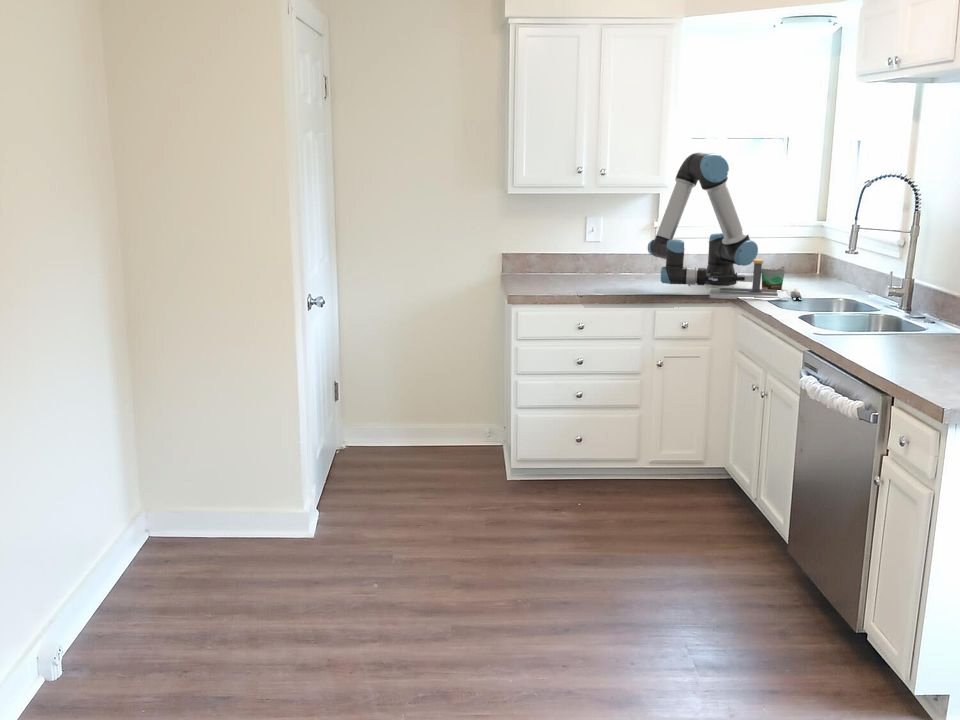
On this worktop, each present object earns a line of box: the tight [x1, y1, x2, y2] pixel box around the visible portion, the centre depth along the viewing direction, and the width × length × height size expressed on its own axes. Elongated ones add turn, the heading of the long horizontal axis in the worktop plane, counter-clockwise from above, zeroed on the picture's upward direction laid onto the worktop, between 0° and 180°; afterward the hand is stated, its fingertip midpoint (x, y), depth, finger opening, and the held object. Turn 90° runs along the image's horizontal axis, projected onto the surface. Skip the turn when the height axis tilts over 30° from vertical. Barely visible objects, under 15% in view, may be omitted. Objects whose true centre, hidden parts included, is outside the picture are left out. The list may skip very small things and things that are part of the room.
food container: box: [761, 266, 787, 291], centre depth 392 cm, size 12×6×10 cm, turn 112°
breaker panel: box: [709, 287, 789, 300], centre depth 382 cm, size 14×32×2 cm, turn 75°
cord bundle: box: [790, 288, 802, 299], centre depth 378 cm, size 13×4×3 cm, turn 165°
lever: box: [749, 258, 764, 293], centre depth 379 cm, size 5×5×14 cm
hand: (752, 278), depth 380 cm, fingers closed
